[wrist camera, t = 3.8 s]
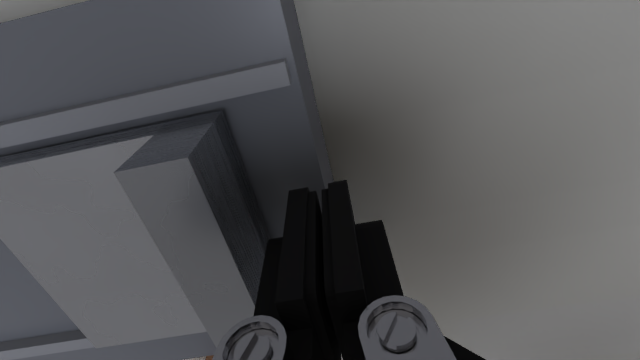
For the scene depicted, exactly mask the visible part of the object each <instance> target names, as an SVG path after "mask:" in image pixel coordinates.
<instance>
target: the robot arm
mask: <svg viewBox="0 0 640 360" xmlns="http://www.w3.org/2000/svg"><path fill="white" fill-rule="evenodd" d="M321 194H322V211H321V207H320V203H319V199H318V195H317V192H316V191H311V192H310V191H309V188H308V187H305V188H299V189H294V190H289V193H288V200H287V208H286V216H285V224H284V231H283V237H279V238H273V239H269V240H268V242H267V246H266V251H265V257H264V262H263V267H262V273H261V278H260V283H259V289H258V294H257V299H256V305H255V310H254V316H252V317H249V318H247V319H244V320H242V321H240V322H239V323H237V324H236V325H234V326H233V327H231V328H230V330H229V331H228V332H227V333H226V334H225V335H224V336H223V338H222V339H221V341H220V343H219V345H218V346H217V349H216V351H215V354H214V356H213V358H212V360H341V354H342V358H343V360H485V359H484V358H482V357H480V356H478V355H477V354H475V353H473V352H471V351H469V350H468V349H466V348H464V347H462V346H461V345H459V344H457V343H455V342H454V341H452V340H450V339H448V338H446V337H445V336H443V334H442V332H441V330H440V328H439V327H438V325H437V323H436V321H435V319H434V317H433V316H432V314H431V313H430V312H429V311H428V309H427V308H426V307H425V306H424V305H422V304H421V303H420V302H418V301H417V300H414V299H412V298H409V297H406V296H403V292H402V289H401V285H400V282H399V278H398V275H397V271H396V267H395V264H394V260H393V257H392V253H391V250H390V246H389V243H388V239H387V236H386V232H385V229H384V225H383V222H382V220H379V221H373V222H367V223H361V224H355V221H354V216H353V211H352V205H351V200H350V195H349V190H348V185H347V180H343V181H338V182H332V183H328V188H327V189H322V190H321Z"/></svg>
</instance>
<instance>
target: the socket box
mask: <svg viewBox="0 0 640 360" xmlns="http://www.w3.org/2000/svg"><path fill="white" fill-rule="evenodd" d="M219 110H224V113H225V116H226V119H227V121H228V124H229V127H230V130H231V132H232V135H233V138H234V140H235V143H236V146H237V149H238V151H239V154H240V157H241V160H242V162H243V165H244V168H245V171H246V173H247V176H248V179H249V182H250V184H251V187H252V190H253V193H254V195H255V198H256V201H257V203H258V206H259V209H260V212H261V214H262V217H263V220H264V223H265V225H266V228H267V231H268V234H269V236H270V239H273V238H279V237H283V231H284V224H285V216H286V208H287V200H288V193H289V190H294V189H299V188H305V187H308V188H309V191H310V192H311V191H316V192H317V195H318V199H319V203H320V207H321V211H322V194H321V190H322V189H327V188H328V183H332V182H334V181H333V176H332V172H331V167H330V163H329V158H328V154H327V149H326V145H325V140H324V136H323V131H322V127H321V122H320V118H319V113H318V109H317V104H316V100H315V95H314V91H313V86H312V82H311V77H310V73H309V68H308V64H307V59H306V55H305V50H304V46H303V41H302V37H301V32H300V28H299V23H298V19H297V14H296V10H295V5H294V1H293V0H90V1H86V2H82V3H78V4H74V5H70V6H66V7H62V8H58V9H54V10H51V11H47V12H43V13H39V14H35V15H31V16H27V17H23V18H19V19H15V20H12V21H8V22H4V23H0V157H5V156H9V155H14V154H19V153H23V152H28V151H32V150H37V149H42V148H46V147H51V146H56V145H60V144H65V143H70V142H74V141H79V140H84V139H88V138H93V137H98V136H102V135H107V134H112V133H116V132H121V131H126V130H130V129H135V128H140V127H144V126H149V125H154V124H158V123H163V122H167V121H172V120H177V119H181V118H186V117H191V116H195V115H200V114H205V113H209V112H214V111H219ZM216 349H217V348H216V346H215V345H214V343H213V341H212V339H211V338H210V336H209V334H208V333H207V332H202V333H195V334H188V335H182V336H175V337H168V338H162V339H155V340H148V341H142V342H135V343H129V344H122V345H115V346H109V347H102V348H95V347H94V345H93V344H92V343H91V342H90V341H89V340H88V339H87V337H86V336H85V335H84V334H83V333H82V332H81V331H80V329H79V328H78V327H77V326H76V325H75V324H74V323H73V321H72V320H71V319H70V318H69V317H68V316H67V315H66V313H65V312H64V311H63V310H62V309H61V308H60V307H59V305H58V304H57V303H56V302H55V301H54V300H53V299H52V297H51V296H50V295H49V294H48V293H47V292H46V291H45V289H44V288H43V287H42V286H41V285H40V284H39V283H38V281H37V280H36V279H35V278H34V277H33V276H32V275H31V273H30V272H29V271H28V270H27V269H26V268H25V267H24V265H23V264H22V263H21V262H20V261H19V260H18V259H17V257H16V256H15V255H14V254H13V253H12V252H11V251H10V249H9V248H8V247H7V246H6V245H5V244H4V243H3V241H2V240H1V239H0V360H182V359H189V358H196V357H203V356H210V355H214V354H215V351H216Z"/></svg>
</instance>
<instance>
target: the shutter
mask: <svg viewBox="0 0 640 360" xmlns="http://www.w3.org/2000/svg"><path fill="white" fill-rule="evenodd" d="M0 239H1V240H2V241H3V243H4V244H5V245H6V246H7V247H8V248H9V249H10V251H11V252H12V253H13V254H14V255H15V256H16V257H17V259H18V260H19V261H20V262H21V263H22V264H23V265H24V267H25V268H26V269H27V270H28V271H29V272H30V273H31V275H32V276H33V277H34V278H35V279H36V280H37V281H38V283H39V284H40V285H41V286H42V287H43V288H44V289H45V291H46V292H47V293H48V294H49V295H50V296H51V297H52V299H53V300H54V301H55V302H56V303H57V304H58V305H59V307H60V308H61V309H62V310H63V311H64V312H65V313H66V315H67V316H68V317H69V318H70V319H71V320H72V321H73V323H74V324H75V325H76V326H77V327H78V328H79V329H80V331H81V332H82V333H83V334H84V335H85V336H86V337H87V339H88V340H89V341H90V342H91V343H92V344H93V345H94V347H95V348H102V347H109V346H115V345H122V344H129V343H135V342H142V341H148V340H155V339H162V338H168V337H175V336H182V335H188V334H195V333H202V332H207V333H208V334H209V336H210V338H211V339H212V341H213V343H214V345H215V346H216V348H217V346H218V345H219V343H220V341H221V339H222V338H223V336H224V335H225V334H226V333H227V332H228V331H229V330H230V328H231V327H233V326H234V325H236V324H237V323H239V322H240V321H242V320H244V319H247V318H249V317H252V316H254V310H255V305H256V299H257V294H258V289H259V283H260V278H261V273H262V267H263V262H264V257H265V251H266V246H267V242H268V240H269V239H270V236H269V234H268V231H267V228H266V225H265V223H264V220H263V217H262V214H261V212H260V209H259V206H258V203H257V201H256V198H255V195H254V193H253V190H252V187H251V184H250V182H249V179H248V176H247V173H246V171H245V168H244V165H243V162H242V160H241V157H240V154H239V151H238V149H237V146H236V143H235V140H234V138H233V135H232V132H231V130H230V127H229V124H228V121H227V119H226V116H225V113H224V110H219V111H214V112H209V113H205V114H200V115H195V116H191V117H186V118H181V119H177V120H172V121H167V122H163V123H158V124H154V125H149V126H144V127H140V128H135V129H130V130H126V131H121V132H116V133H112V134H107V135H102V136H98V137H93V138H88V139H84V140H79V141H74V142H70V143H65V144H60V145H56V146H51V147H46V148H42V149H37V150H32V151H28V152H23V153H19V154H14V155H9V156H5V157H0Z"/></svg>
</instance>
